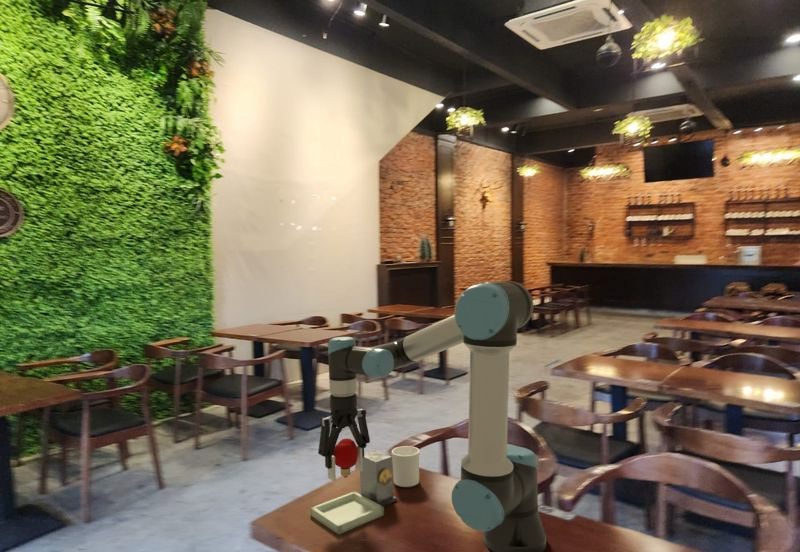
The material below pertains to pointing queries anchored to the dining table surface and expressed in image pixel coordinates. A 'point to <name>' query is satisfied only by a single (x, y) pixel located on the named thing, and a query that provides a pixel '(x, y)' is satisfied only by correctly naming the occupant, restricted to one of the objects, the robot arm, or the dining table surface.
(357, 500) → the tray
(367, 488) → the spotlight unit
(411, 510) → the dining table surface
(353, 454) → the red rounded piece
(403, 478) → the mug
